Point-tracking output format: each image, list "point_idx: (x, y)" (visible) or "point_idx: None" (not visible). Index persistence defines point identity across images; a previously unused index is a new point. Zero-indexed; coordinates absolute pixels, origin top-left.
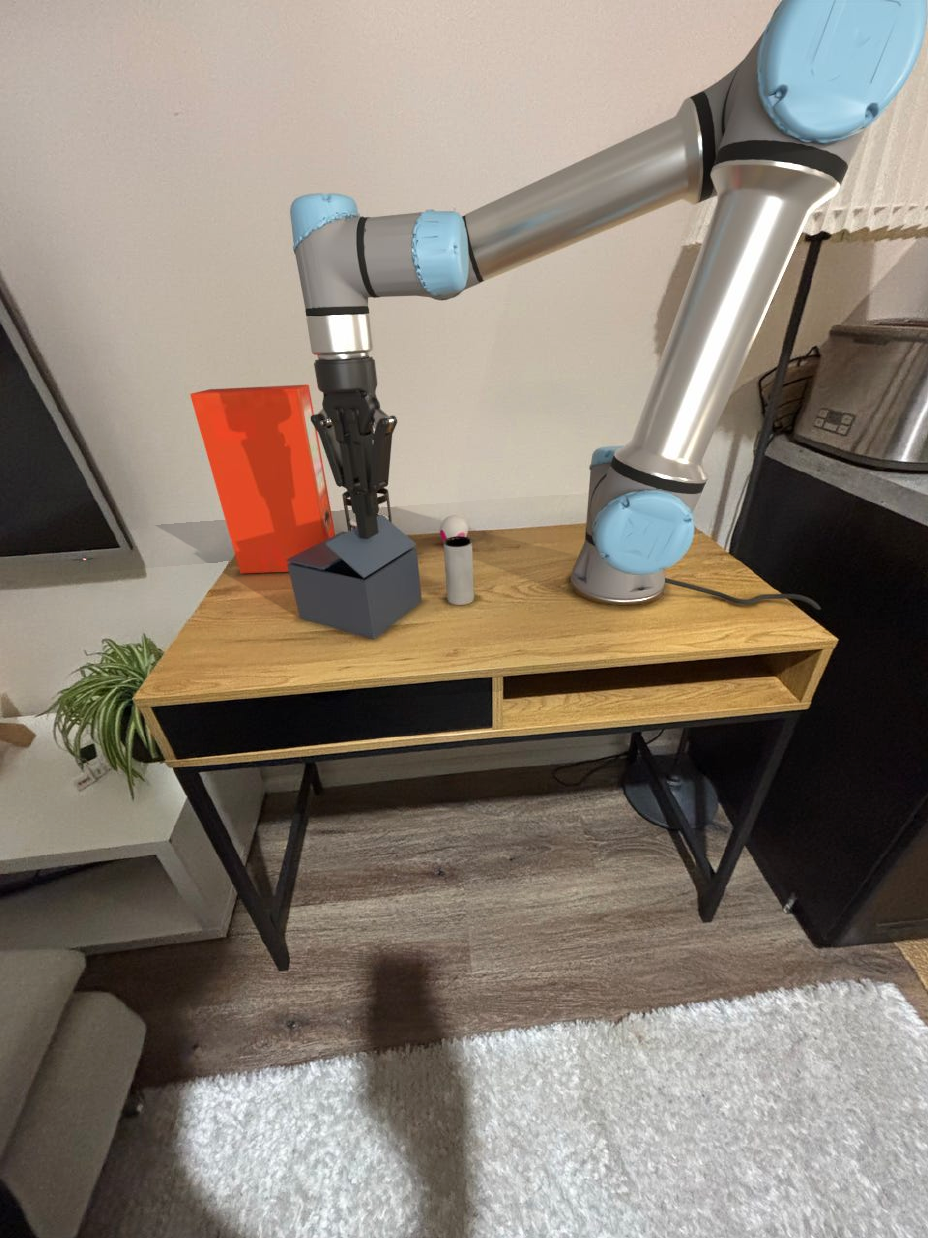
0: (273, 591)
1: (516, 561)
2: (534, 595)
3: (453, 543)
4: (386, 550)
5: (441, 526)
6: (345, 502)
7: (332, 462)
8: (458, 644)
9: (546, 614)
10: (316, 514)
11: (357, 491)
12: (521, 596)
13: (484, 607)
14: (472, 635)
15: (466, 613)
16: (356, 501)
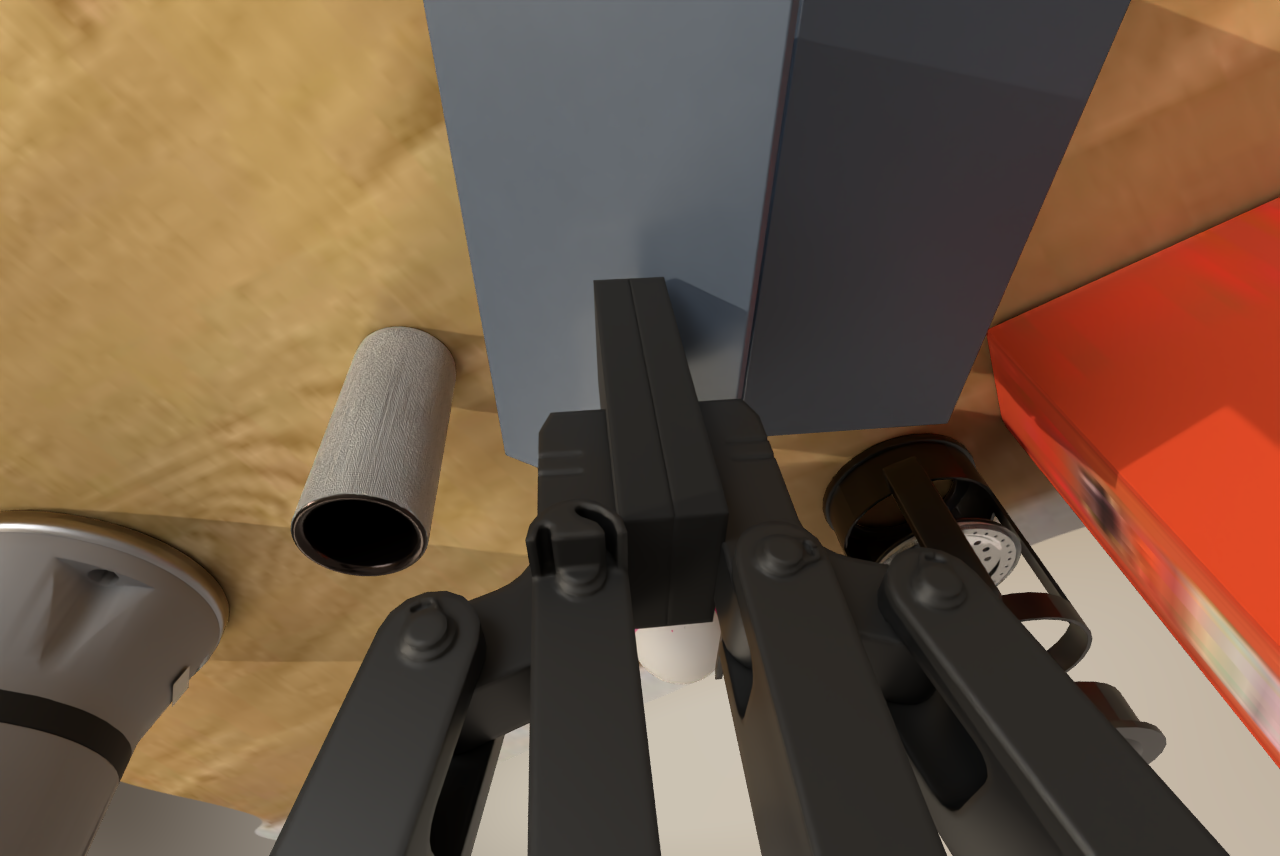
0: (1169, 89)
1: (436, 590)
2: (225, 475)
3: (415, 532)
4: (529, 311)
5: (708, 633)
6: (1055, 601)
7: (1126, 828)
8: (123, 79)
9: (84, 403)
10: (1150, 484)
11: (625, 530)
12: (253, 456)
13: (292, 355)
14: (146, 170)
15: (309, 296)
16: (681, 461)
